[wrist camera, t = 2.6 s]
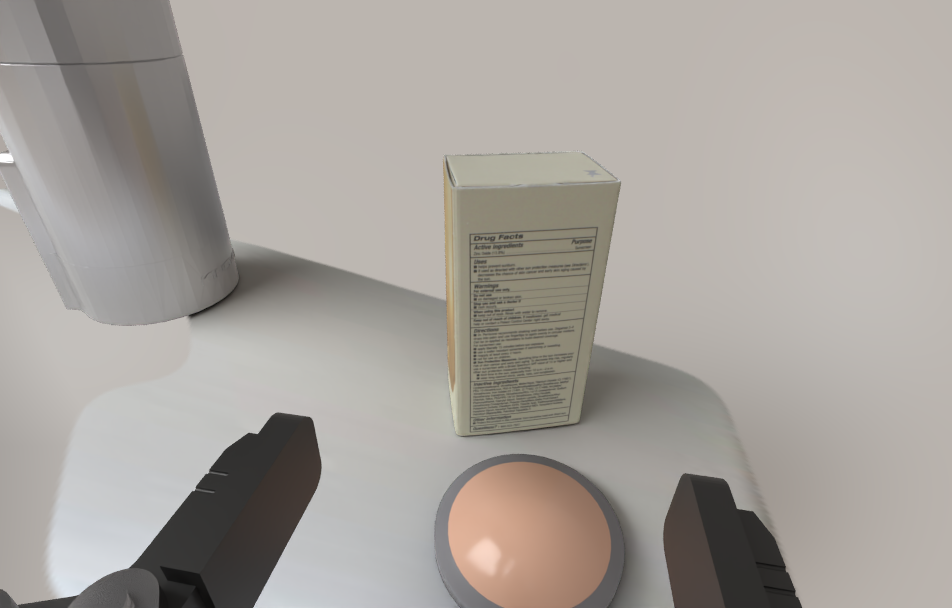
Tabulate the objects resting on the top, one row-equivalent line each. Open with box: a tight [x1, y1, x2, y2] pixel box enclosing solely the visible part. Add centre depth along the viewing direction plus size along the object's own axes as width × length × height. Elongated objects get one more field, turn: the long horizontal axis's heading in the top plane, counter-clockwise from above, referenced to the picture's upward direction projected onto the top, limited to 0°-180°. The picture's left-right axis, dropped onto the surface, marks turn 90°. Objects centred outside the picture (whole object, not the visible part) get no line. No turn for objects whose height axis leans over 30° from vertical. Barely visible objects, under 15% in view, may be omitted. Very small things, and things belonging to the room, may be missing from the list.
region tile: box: [434, 454, 625, 608], centre depth 18 cm, size 7×7×1 cm
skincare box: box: [443, 151, 621, 436], centre depth 21 cm, size 6×4×12 cm
